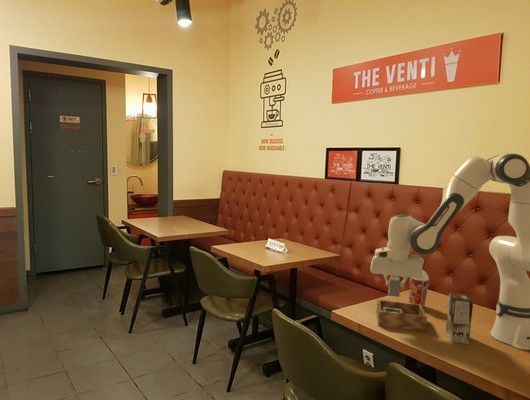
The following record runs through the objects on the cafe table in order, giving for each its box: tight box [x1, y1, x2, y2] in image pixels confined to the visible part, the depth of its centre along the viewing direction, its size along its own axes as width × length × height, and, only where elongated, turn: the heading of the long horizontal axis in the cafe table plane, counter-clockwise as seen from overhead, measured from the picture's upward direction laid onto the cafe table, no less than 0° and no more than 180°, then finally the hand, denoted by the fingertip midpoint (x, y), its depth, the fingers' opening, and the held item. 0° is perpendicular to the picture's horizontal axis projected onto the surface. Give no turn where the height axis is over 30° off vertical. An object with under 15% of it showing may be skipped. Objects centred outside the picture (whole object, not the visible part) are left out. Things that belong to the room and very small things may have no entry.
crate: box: [375, 299, 428, 332], centre depth 164 cm, size 18×14×6 cm
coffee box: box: [445, 292, 474, 345], centre depth 151 cm, size 9×6×16 cm
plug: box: [387, 275, 402, 298], centre depth 164 cm, size 4×4×8 cm
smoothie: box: [408, 269, 430, 308], centre depth 183 cm, size 8×8×20 cm
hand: (394, 286), depth 164 cm, fingers closed on plug, 4 cm apart
